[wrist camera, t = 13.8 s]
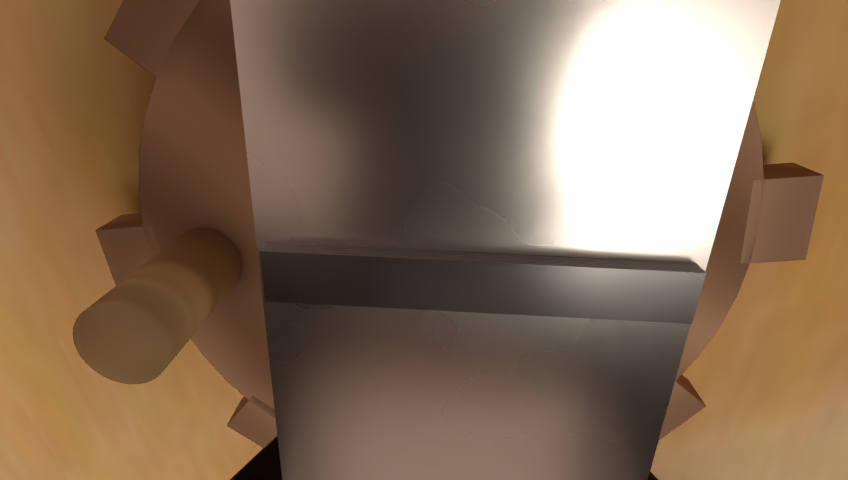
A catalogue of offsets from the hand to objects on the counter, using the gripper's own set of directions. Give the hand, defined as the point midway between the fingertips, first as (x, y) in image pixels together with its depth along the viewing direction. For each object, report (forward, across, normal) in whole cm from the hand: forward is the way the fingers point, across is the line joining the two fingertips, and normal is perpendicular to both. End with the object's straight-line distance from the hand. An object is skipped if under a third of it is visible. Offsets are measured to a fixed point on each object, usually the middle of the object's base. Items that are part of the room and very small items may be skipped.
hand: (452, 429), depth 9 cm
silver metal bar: (+1, 0, 0) cm, 1 cm away
